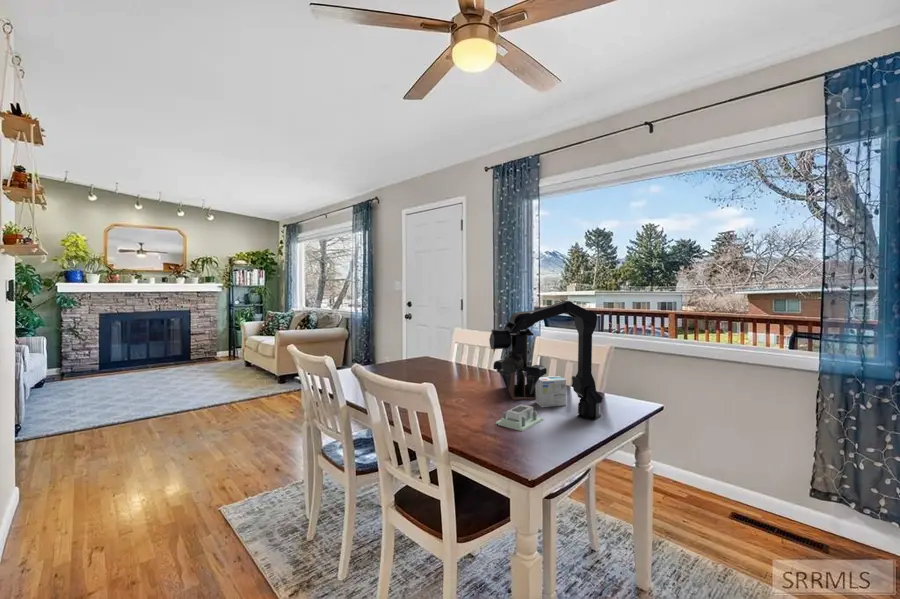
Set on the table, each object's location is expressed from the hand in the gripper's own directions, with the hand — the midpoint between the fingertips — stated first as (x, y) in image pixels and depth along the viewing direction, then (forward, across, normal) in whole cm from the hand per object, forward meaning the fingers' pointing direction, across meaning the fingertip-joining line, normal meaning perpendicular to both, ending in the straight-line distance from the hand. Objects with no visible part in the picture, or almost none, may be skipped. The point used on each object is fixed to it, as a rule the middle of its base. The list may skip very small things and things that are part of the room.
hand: (519, 391), depth 149 cm
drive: (+10, 0, 0) cm, 10 cm away
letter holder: (+12, -18, +32) cm, 39 cm away
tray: (+11, 0, 0) cm, 11 cm away
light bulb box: (+11, -1, +26) cm, 29 cm away
